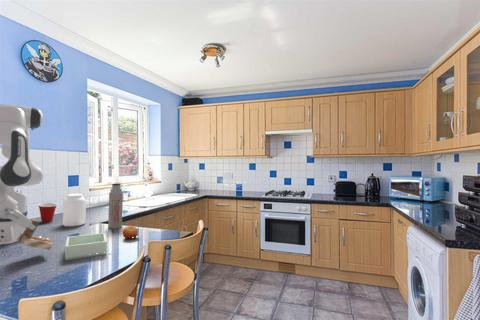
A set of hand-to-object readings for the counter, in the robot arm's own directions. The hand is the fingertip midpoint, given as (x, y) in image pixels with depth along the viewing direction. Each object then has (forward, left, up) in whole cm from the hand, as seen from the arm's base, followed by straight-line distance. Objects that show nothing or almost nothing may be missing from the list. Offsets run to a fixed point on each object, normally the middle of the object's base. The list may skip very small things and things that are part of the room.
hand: (32, 227), depth 114 cm
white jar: (+14, +60, -14) cm, 63 cm away
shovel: (0, 0, -8) cm, 8 cm away
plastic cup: (-2, +76, -14) cm, 77 cm away
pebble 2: (+3, +1, -8) cm, 9 cm away
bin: (+21, -1, -13) cm, 25 cm away
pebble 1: (+1, 0, -6) cm, 6 cm away
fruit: (+42, +12, -14) cm, 45 cm away
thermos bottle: (+37, +42, -14) cm, 57 cm away
